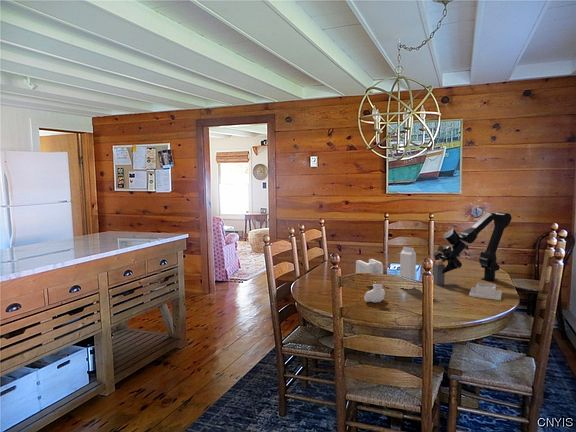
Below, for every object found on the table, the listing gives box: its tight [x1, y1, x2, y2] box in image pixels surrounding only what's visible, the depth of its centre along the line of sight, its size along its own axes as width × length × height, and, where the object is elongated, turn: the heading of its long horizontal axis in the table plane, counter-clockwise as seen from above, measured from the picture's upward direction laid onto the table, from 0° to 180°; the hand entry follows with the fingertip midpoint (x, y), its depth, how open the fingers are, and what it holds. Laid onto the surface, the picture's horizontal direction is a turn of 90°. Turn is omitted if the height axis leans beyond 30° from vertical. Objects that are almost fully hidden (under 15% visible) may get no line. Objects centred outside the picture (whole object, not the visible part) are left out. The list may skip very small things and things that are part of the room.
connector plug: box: [432, 259, 446, 286], centre depth 224 cm, size 4×4×13 cm
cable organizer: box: [355, 258, 384, 275], centre depth 231 cm, size 15×11×12 cm
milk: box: [399, 246, 417, 281], centre depth 216 cm, size 6×6×22 cm
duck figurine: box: [364, 284, 386, 303], centre depth 194 cm, size 12×8×11 cm
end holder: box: [468, 282, 503, 301], centre depth 205 cm, size 14×14×5 cm
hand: (437, 270), depth 224 cm, fingers open, 9 cm apart
